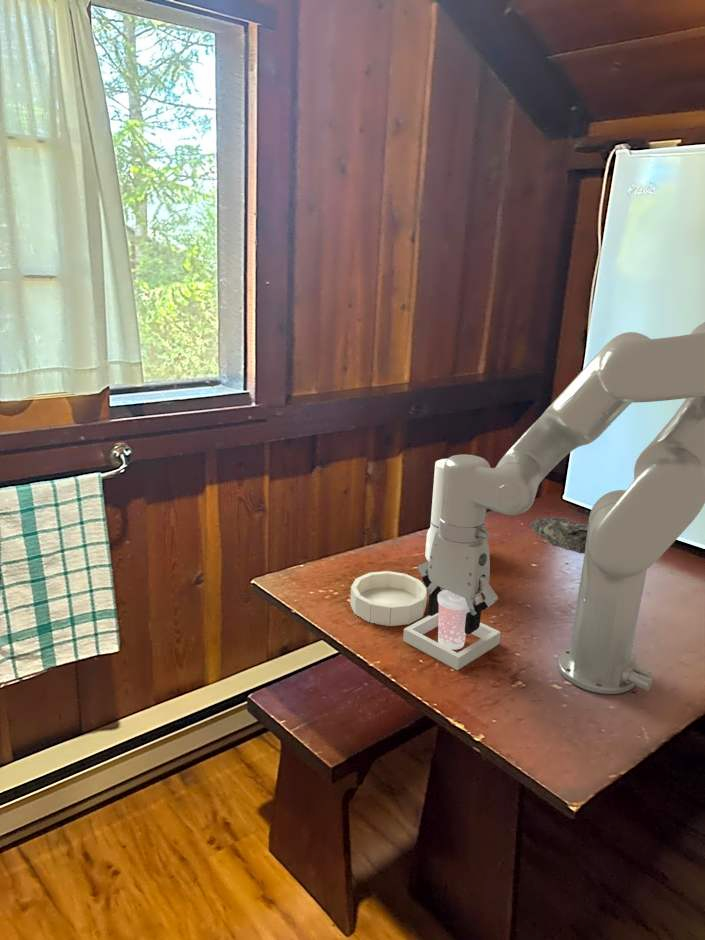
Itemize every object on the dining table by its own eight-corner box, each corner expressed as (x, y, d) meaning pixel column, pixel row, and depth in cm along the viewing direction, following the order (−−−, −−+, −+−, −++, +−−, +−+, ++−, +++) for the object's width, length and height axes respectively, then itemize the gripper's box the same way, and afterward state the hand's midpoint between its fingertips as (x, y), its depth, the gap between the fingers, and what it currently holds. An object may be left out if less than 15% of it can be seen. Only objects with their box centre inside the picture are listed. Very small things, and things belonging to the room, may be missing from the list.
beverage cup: (468, 654, 129) (475, 581, 125) (432, 649, 130) (438, 577, 125) (469, 635, 135) (476, 565, 130) (434, 631, 136) (440, 561, 131)
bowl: (439, 607, 144) (441, 590, 143) (390, 633, 134) (391, 615, 133) (386, 581, 153) (387, 565, 152) (336, 604, 144) (336, 586, 142)
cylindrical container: (421, 581, 154) (429, 466, 146) (434, 568, 160) (443, 456, 152) (454, 590, 151) (464, 472, 142) (466, 576, 157) (477, 462, 148)
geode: (601, 559, 168) (613, 536, 180) (604, 544, 166) (615, 521, 179) (518, 541, 176) (535, 520, 188) (520, 526, 175) (536, 506, 187)
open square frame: (499, 643, 133) (500, 632, 132) (457, 670, 124) (458, 657, 124) (445, 617, 140) (446, 606, 140) (403, 640, 132) (403, 628, 132)
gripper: (518, 539, 122) (507, 634, 128) (435, 508, 134) (428, 596, 139) (491, 552, 117) (480, 650, 123) (407, 518, 129) (401, 610, 134)
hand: (452, 621), depth 131 cm, fingers open, 7 cm apart
